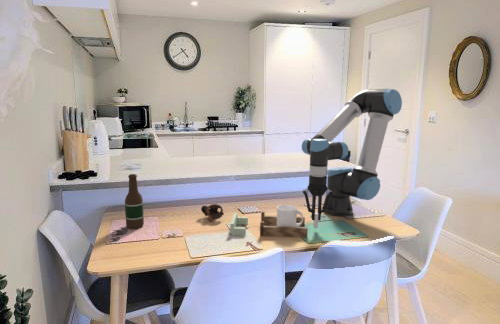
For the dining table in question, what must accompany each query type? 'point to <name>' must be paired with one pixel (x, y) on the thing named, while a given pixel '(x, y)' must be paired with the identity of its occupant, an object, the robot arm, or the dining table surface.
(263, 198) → the dining table surface
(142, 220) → the beer bottle
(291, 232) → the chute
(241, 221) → the end stop
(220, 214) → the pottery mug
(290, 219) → the mug
